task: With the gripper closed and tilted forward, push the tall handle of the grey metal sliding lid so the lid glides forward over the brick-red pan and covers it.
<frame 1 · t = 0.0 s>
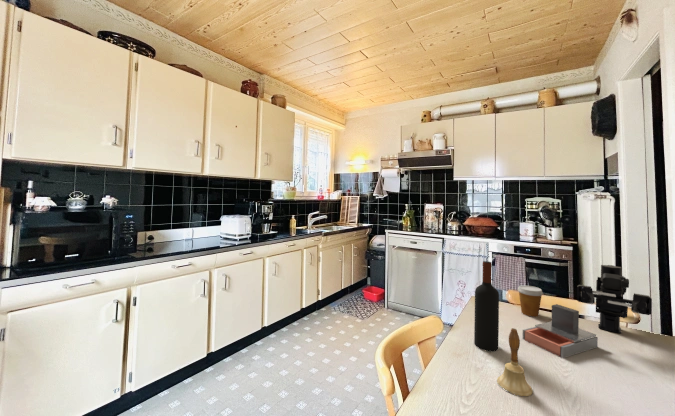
hand: (612, 305, 91), 17 cm above the table, tool horizontal, fingers open, 9 cm apart
pan: (552, 344, 97), on the table
wine bottle: (486, 346, 96), on the table
lid: (564, 319, 99), point 8 cm above the table, slide at 7.0 cm
hand bell: (514, 386, 75), on the table
disposable coffee cup: (529, 314, 124), on the table
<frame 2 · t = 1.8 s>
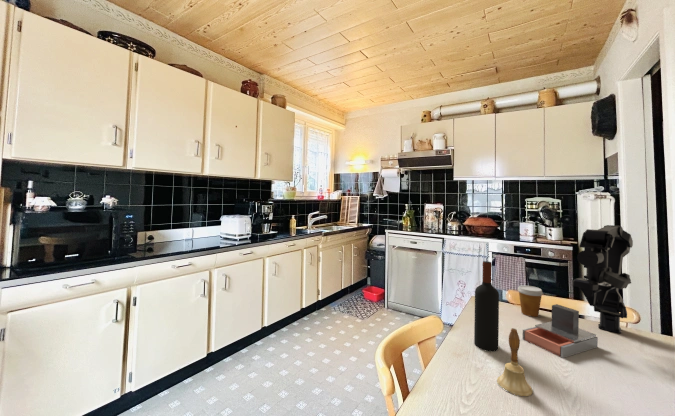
hand: (596, 304, 101), 13 cm above the table, tool pointing down, fingers open, 5 cm apart
nothing on the table moved.
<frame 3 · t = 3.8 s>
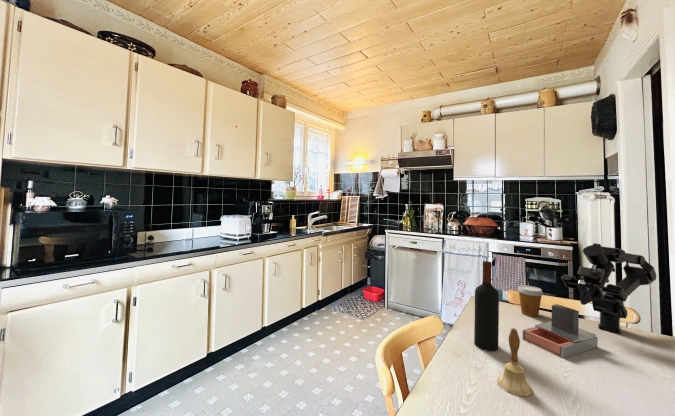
hand: (582, 304, 103), 13 cm above the table, tool tilted 45°, fingers closed
nothing on the table moved.
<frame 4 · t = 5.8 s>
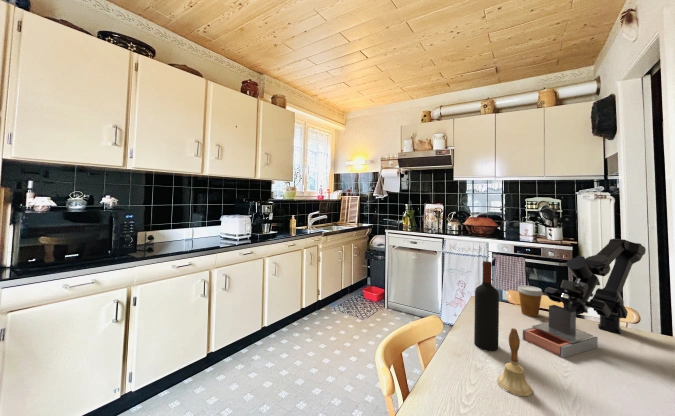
hand: (564, 319, 99), 8 cm above the table, tool tilted 45°, fingers closed, pressing on lid
lid: (561, 320, 99), point 8 cm above the table, slide at 5.3 cm, touching gripper
everything else where it was.
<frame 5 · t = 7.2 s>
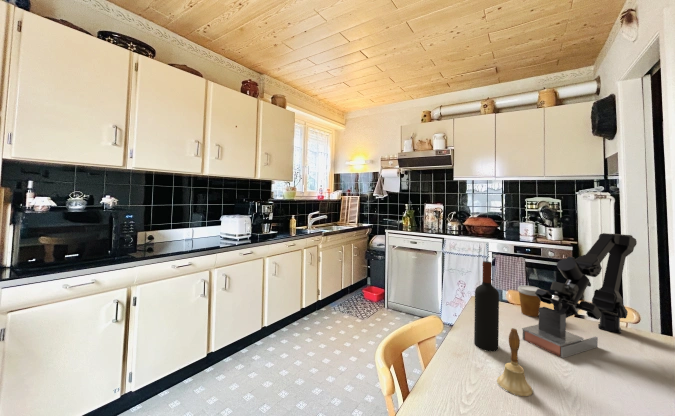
hand: (555, 321, 97), 8 cm above the table, tool tilted 45°, fingers closed, pressing on lid
lid: (551, 322, 97), point 8 cm above the table, slide at -0.3 cm, touching gripper
everything else where it was.
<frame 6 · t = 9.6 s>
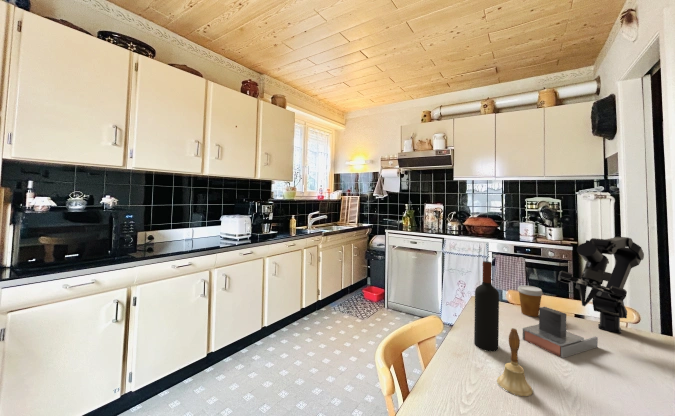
hand: (583, 305, 100), 13 cm above the table, tool tilted 30°, fingers closed
lid: (552, 322, 97), point 8 cm above the table, slide at 0.0 cm
everything else where it was.
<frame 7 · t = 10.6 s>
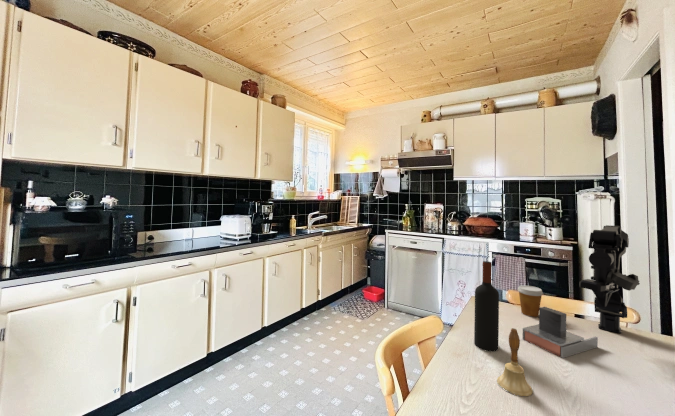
hand: (603, 306, 99), 13 cm above the table, tool pointing down, fingers closed
nothing on the table moved.
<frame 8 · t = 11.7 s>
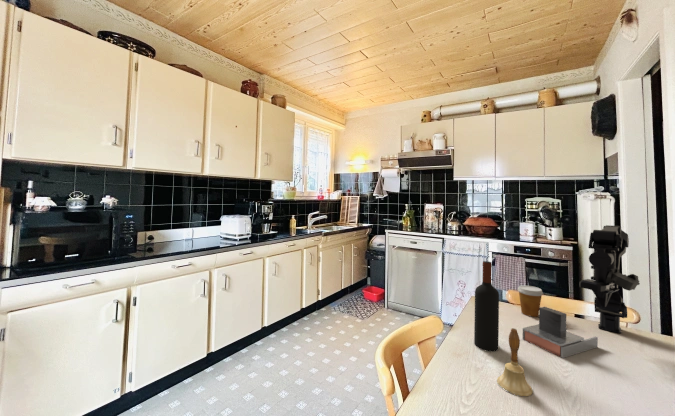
hand: (603, 306, 99), 13 cm above the table, tool pointing down, fingers closed
nothing on the table moved.
at the end: lid slide at 0.0 cm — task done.
